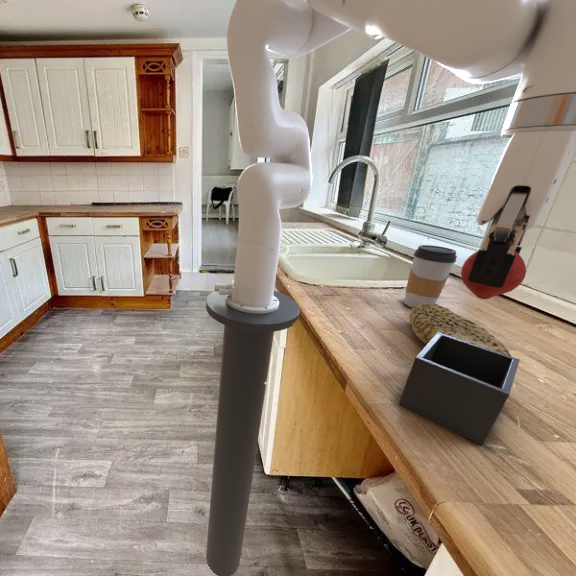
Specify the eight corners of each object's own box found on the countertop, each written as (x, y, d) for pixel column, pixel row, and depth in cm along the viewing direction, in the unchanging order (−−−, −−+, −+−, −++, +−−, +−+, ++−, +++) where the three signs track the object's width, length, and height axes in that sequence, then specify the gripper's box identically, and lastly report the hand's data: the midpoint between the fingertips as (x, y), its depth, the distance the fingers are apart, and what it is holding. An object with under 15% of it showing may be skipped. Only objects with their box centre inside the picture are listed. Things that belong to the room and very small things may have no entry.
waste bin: (482, 446, 38) (509, 394, 35) (398, 403, 45) (415, 357, 42) (496, 405, 45) (520, 359, 42) (422, 373, 52) (437, 332, 49)
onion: (471, 305, 38) (496, 242, 35) (443, 288, 43) (463, 232, 40) (524, 309, 37) (554, 245, 34) (489, 292, 43) (512, 235, 40)
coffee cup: (440, 315, 73) (463, 255, 68) (399, 307, 77) (417, 249, 72) (435, 303, 80) (455, 247, 75) (398, 296, 84) (414, 242, 78)
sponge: (398, 325, 70) (415, 351, 53) (414, 295, 68) (438, 311, 51) (465, 352, 65) (509, 390, 48) (486, 319, 63) (539, 347, 46)
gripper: (513, 130, 41) (465, 261, 47) (493, 113, 30) (435, 284, 37) (603, 126, 35) (535, 273, 42) (617, 103, 25) (523, 305, 31)
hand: (489, 277), depth 39 cm, fingers closed on onion, 5 cm apart
